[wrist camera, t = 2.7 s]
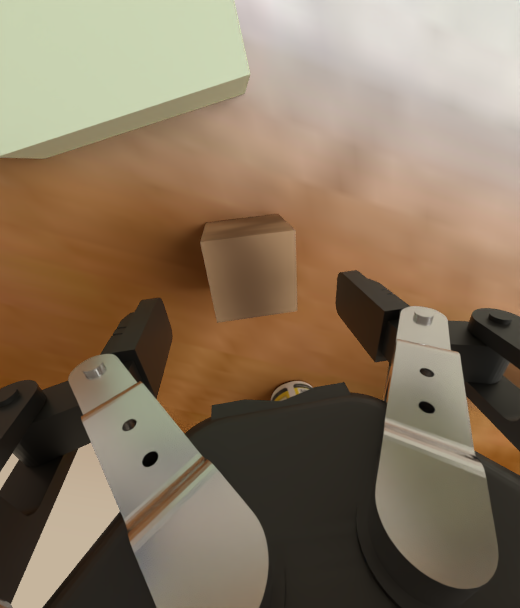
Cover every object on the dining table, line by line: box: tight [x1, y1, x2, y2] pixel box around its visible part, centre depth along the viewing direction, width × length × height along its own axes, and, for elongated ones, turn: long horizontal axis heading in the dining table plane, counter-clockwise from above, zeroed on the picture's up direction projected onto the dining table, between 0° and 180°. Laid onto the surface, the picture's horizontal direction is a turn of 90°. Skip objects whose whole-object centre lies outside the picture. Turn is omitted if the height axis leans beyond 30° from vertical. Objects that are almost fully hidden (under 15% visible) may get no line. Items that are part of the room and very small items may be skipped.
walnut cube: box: [200, 214, 297, 323], centre depth 17 cm, size 5×5×5 cm
